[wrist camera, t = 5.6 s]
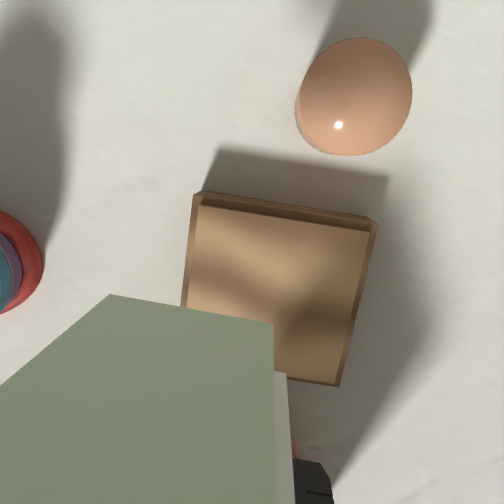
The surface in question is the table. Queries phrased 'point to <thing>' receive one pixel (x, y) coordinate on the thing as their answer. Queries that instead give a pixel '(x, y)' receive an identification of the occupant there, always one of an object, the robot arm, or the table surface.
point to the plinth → (281, 276)
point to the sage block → (143, 411)
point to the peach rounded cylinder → (353, 98)
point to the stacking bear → (17, 263)
